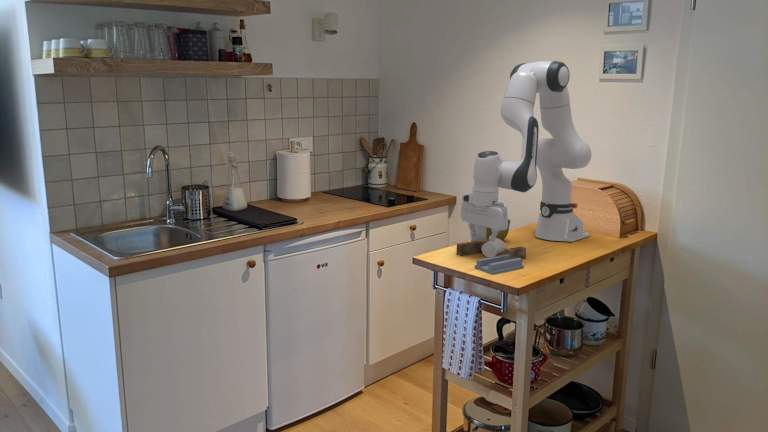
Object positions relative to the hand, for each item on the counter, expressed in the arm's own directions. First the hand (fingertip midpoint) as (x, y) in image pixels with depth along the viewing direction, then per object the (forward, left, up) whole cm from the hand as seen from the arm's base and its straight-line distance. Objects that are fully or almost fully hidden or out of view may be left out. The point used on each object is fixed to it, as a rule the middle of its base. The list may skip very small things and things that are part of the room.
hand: (482, 238), depth 213 cm
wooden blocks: (-4, -7, -7) cm, 11 cm away
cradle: (+3, +12, -7) cm, 14 cm away
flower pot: (-22, -16, -7) cm, 28 cm away
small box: (-12, -14, -7) cm, 20 cm away
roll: (-9, -2, -7) cm, 12 cm away
